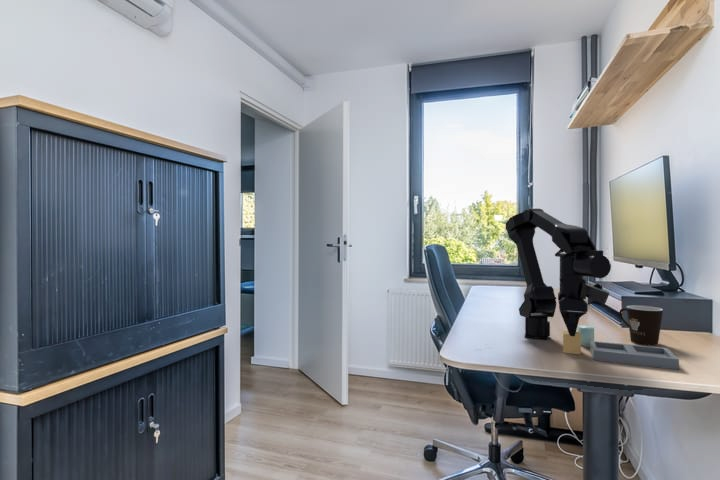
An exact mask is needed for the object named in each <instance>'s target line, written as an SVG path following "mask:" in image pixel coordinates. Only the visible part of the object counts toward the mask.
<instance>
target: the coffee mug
mask: <svg viewBox="0 0 720 480" xmlns="http://www.w3.org/2000/svg"><path fill="white" fill-rule="evenodd" d="M623 311H626V314H627V315H626V316H627V321H628V322H627V321H626V320H625V318H624V317H623V315H622V313H623ZM663 311H664V309H663V308H661V307H655V306H649V305H633V304H632V305H627V306H625V308H621V309H620V310H619V312H618V315H619V317H620V320H621V321H622V323H623V324H625V325H626V326H627V327H628V329H629V337H630V341H631V342H632V343H633V344H635V345H637V344H638V345H640V346H651V345H652V346H651V347H654V346H658V345H659V341H660V333H661V325H662V319H663V314H664V313H663Z"/></svg>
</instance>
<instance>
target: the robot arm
mask: <svg viewBox="0 0 720 480" xmlns="http://www.w3.org/2000/svg"><path fill="white" fill-rule="evenodd" d="M537 228H539V229H540V230H542V231H543V232H545V233H546V234H548V236H550V237H551V241H552V242H553V244H554V245H555V246H556V247H558V249H559V250H558V251H556V253H554V256H555V258H556V257H558V258H559V292H558V293H557V297H556V295H555V291H554V290H555V289H554V287H553V286H552V285H547V284H546V283H545V282H544V278H543V274H542V271H541V267H540V264H539V261H538V256H537V253H536V249H535V246H534V242H533V239H534V237H535V234H536V229H537ZM505 229H506V232H507V235H508V238H509V239H510V240H511V241H512V242H513V243H514V244H515V246H516V248H517V252H518V256H519V260H520V264H521V269H522V272H523V276H524V279H525V284H526V288H525V291H524V293H523V298H524V301H523V302H522V304H521V305H520V306H519V307H518V312H519V316H520V317H523V318H524V319H525V321H524V322H525V323H524V325H525V326H524V331H525V332H524V338H531V339H538V340H539V339H540V340H541V339H542V340H548V339H549V337H551V324H550V323H551V322H550V321H549V320H548V319H549V318H554V316H555V313H556V308H557V303H558V304H559V305H558V308H559V313H560V315H561V317H562V320H563V322H564V324H565V327H566V329H567V330H566V331H568V332H569V334H570V336H575V334H576V332H577V331H578V326H579V321H580V318H582V317H583V316H584V315H586V314H587V312H589V311H588V310H589V305H588V302H587V301H586V300H587V299H590V300H593V301H596V302H598V303H599V304H602V305H606V303H607V300H608V298H609V296H610V291H607V290H605V289H603V285H602V284H600V283H597V282H594V284H592V285H591V284H587V281H586V279H585V278H584V277H588V278H596V279H603V278H606V277H607V276H608V275H609V274H610V272H611V268H612V265H611V263H610V260H609V258H608V257H606V256H605V255H604V250H600V249H599V250H598V249H597V248H596V245H595V243H593V241H592V238H591V237H590V235H589V233H588V231H587V229H586V228H584V227H581V226H578V225H572V224H567V223H564V222H562V221H561V220H559V219H558V218H556V217H554V216H552V215H550V214H548V213H547V212H545V211H544V209H542V208H527V209H525V210H523V211H522V212H520V213H517V214H515V215H513V216H511V217H509V218H508V219H507V220H506V221H505ZM557 301H558V302H557Z"/></svg>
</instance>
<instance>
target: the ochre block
mask: <svg viewBox="0 0 720 480" xmlns="http://www.w3.org/2000/svg"><path fill="white" fill-rule="evenodd" d="M562 333H563V334H562V339H563V340H562V345H563V346H562V348H563V353H566V354H573V355H574V354H575V355H582V346H581V334H580V332H578V331H576V334H575V336H570V334H569V332H568V330H563V332H562Z"/></svg>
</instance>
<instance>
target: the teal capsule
mask: <svg viewBox="0 0 720 480" xmlns="http://www.w3.org/2000/svg"><path fill="white" fill-rule="evenodd" d="M577 332H580V334H581V347H589V348H590V341H595V327H594V326H591V325H578V326H577Z"/></svg>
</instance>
